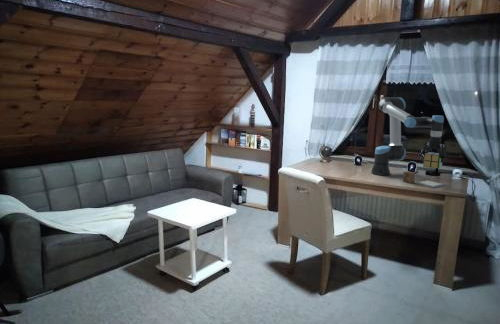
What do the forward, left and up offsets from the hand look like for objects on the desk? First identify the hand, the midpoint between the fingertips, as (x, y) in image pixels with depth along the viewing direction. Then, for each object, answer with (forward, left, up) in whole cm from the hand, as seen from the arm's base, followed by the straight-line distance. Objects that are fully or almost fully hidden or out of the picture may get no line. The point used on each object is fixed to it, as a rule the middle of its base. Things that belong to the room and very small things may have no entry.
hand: (432, 165), depth 267 cm
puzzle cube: (0, 0, -1) cm, 1 cm away
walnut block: (-13, -8, -15) cm, 22 cm away
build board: (0, 0, -15) cm, 15 cm away
